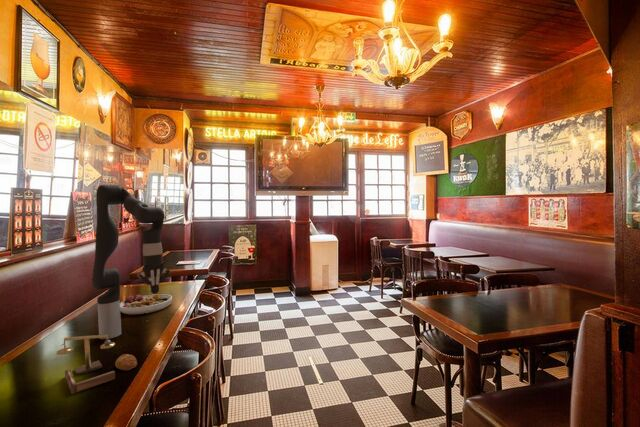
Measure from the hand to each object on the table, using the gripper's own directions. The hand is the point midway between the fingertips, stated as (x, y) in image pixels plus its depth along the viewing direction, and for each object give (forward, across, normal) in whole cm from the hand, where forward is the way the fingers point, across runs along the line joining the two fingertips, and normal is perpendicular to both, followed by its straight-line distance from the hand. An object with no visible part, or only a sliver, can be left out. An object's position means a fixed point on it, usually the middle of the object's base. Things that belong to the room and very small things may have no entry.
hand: (154, 293), depth 138 cm
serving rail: (+26, +25, +3) cm, 36 cm away
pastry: (+26, +12, +3) cm, 29 cm away
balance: (+26, +24, -6) cm, 35 cm away
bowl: (+26, -17, -75) cm, 81 cm away
